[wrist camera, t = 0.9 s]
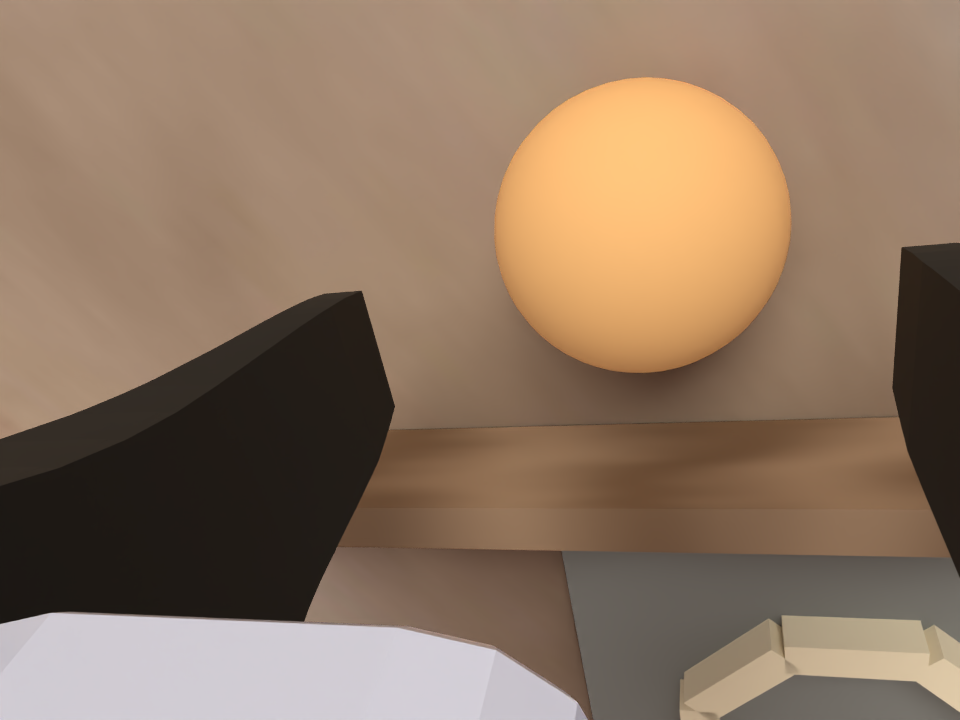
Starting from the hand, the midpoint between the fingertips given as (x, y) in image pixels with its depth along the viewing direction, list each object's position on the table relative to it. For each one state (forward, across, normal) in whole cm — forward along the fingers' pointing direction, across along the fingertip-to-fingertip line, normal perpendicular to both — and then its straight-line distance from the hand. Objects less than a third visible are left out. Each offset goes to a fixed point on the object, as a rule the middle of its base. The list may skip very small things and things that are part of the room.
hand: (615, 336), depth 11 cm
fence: (+6, 0, +6) cm, 9 cm away
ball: (+4, 0, 0) cm, 4 cm away
